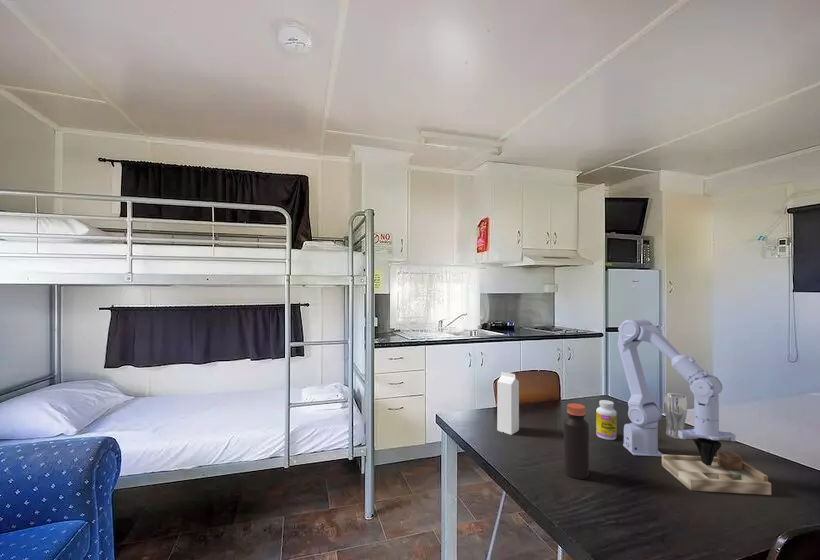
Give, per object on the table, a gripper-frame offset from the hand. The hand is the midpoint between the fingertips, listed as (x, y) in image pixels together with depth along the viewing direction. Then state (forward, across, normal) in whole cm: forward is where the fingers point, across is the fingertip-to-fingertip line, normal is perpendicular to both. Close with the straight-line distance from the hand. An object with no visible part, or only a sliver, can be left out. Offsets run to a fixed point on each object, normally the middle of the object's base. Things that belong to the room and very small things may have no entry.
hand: (706, 463), depth 111 cm
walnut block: (+1, +6, 0) cm, 6 cm away
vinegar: (+3, -38, -4) cm, 38 cm away
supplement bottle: (+3, -18, +26) cm, 31 cm away
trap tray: (+3, 0, -2) cm, 4 cm away
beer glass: (+3, +8, +30) cm, 31 cm away
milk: (+3, -53, +28) cm, 60 cm away
